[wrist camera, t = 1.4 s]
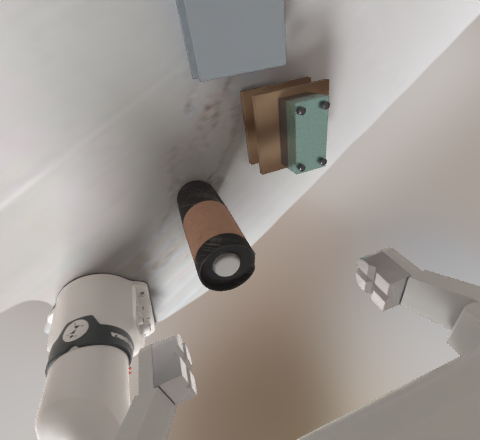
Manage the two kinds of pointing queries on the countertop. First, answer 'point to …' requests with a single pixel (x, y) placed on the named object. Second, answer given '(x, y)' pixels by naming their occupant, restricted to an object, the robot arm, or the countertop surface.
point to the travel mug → (214, 238)
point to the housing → (303, 131)
